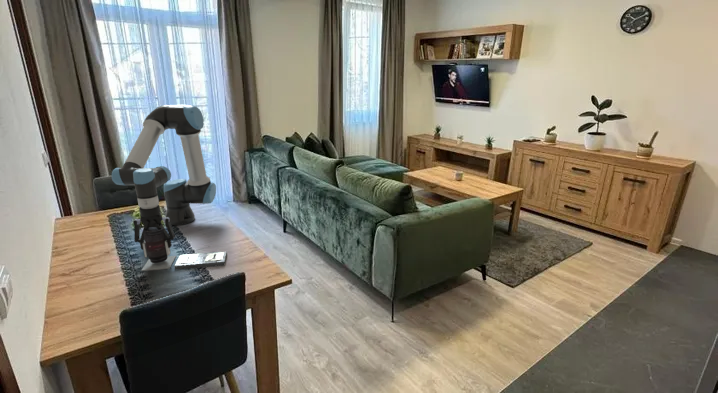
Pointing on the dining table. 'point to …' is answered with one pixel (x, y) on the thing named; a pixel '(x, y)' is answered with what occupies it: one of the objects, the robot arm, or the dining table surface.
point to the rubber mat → (159, 264)
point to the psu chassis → (201, 260)
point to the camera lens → (155, 244)
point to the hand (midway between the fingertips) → (158, 254)
